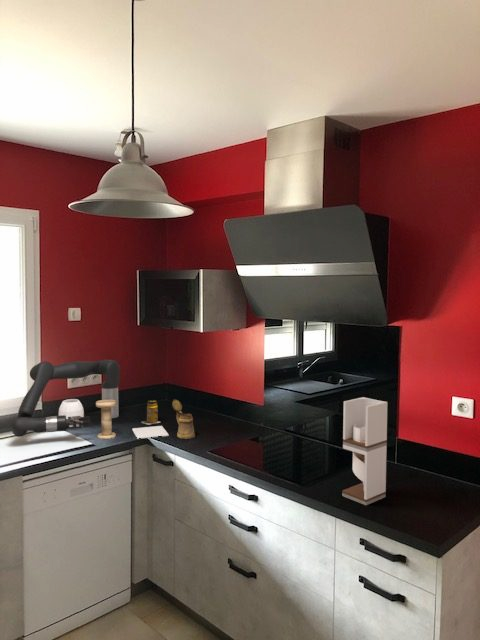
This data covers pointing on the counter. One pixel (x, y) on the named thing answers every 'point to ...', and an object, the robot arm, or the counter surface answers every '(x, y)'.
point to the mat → (149, 432)
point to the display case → (366, 447)
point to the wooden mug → (183, 422)
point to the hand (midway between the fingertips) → (90, 420)
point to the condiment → (152, 412)
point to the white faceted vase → (71, 408)
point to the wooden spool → (106, 418)
